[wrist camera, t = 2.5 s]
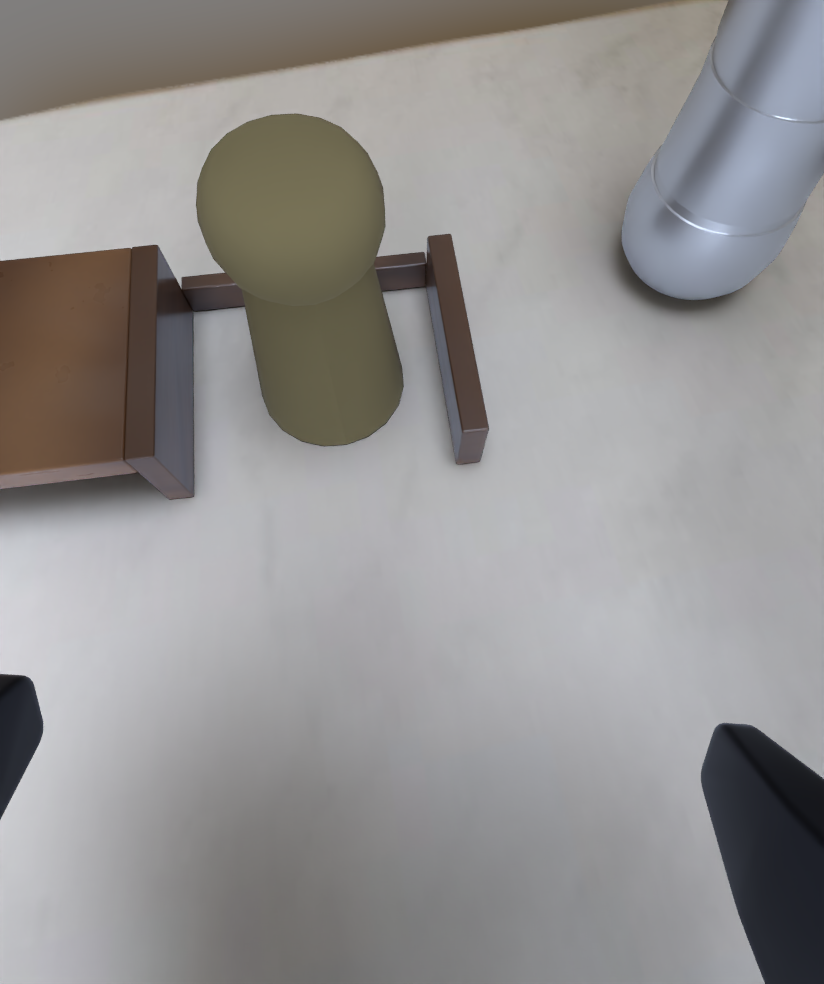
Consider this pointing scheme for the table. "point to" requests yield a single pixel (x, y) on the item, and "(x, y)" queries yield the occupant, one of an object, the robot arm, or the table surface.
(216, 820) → the table surface
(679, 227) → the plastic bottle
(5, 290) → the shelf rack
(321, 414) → the olive green pawn
